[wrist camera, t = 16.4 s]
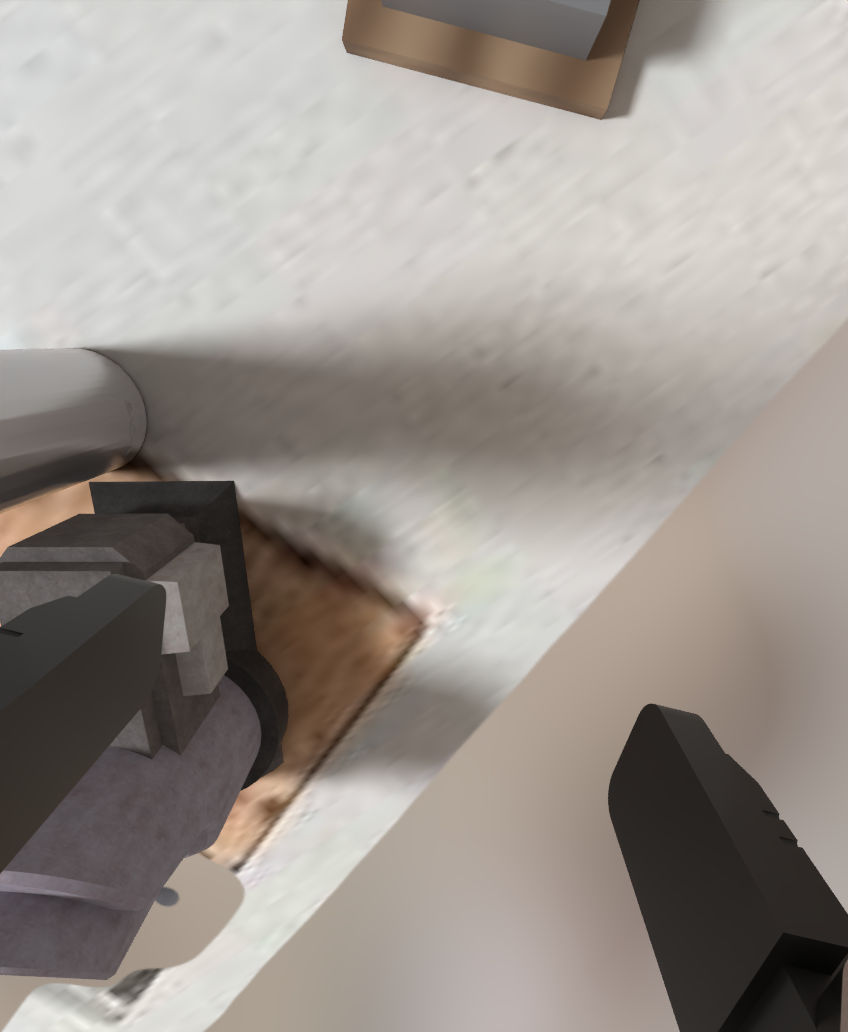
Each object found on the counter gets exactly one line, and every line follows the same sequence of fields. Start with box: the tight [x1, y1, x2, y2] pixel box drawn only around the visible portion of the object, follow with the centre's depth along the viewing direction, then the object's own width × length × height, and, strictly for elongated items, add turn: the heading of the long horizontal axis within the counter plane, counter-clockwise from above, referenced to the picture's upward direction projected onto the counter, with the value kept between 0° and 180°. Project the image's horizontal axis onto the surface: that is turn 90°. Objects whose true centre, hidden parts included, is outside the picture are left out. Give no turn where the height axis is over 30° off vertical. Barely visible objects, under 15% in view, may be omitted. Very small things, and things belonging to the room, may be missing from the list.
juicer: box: [0, 481, 288, 980], centre depth 35 cm, size 30×16×24 cm, turn 1°
